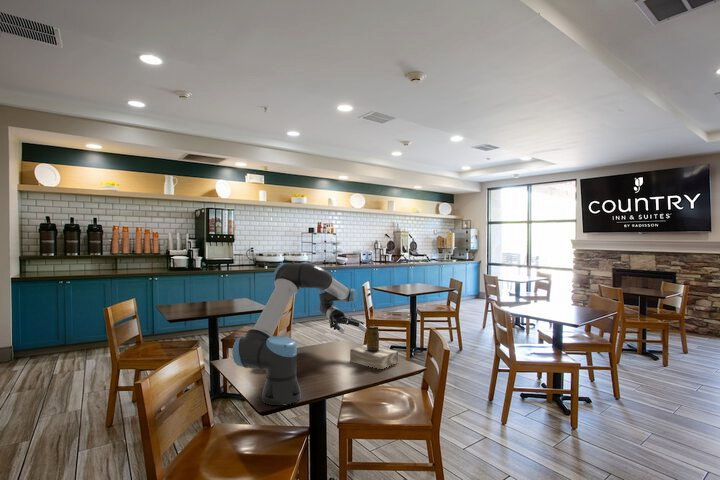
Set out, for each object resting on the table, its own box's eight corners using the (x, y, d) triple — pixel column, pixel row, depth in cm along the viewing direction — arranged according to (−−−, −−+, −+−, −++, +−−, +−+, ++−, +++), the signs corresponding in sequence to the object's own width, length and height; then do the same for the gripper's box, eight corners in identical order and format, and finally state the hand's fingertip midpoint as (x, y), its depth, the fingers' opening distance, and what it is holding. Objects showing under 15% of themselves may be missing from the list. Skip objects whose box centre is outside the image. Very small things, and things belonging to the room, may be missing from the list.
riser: (381, 370, 184) (381, 357, 184) (350, 361, 197) (350, 349, 197) (398, 363, 195) (398, 351, 195) (367, 355, 208) (367, 344, 208)
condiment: (373, 347, 202) (373, 324, 201) (384, 351, 195) (384, 327, 195) (363, 349, 197) (363, 326, 197) (373, 353, 190) (374, 329, 190)
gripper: (353, 321, 222) (373, 336, 204) (314, 322, 208) (332, 338, 190) (355, 309, 221) (376, 323, 203) (316, 309, 207) (335, 324, 190)
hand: (354, 330), depth 197 cm, fingers open, 13 cm apart
